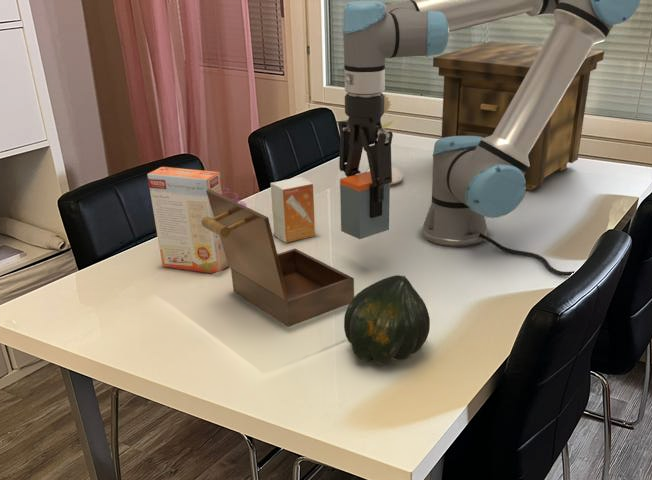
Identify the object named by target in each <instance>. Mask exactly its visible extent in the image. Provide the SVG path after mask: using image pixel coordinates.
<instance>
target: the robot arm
mask: <svg viewBox="0 0 652 480" xmlns="http://www.w3.org/2000/svg"><path fill="white" fill-rule="evenodd" d="M640 3H641V0H405V1H400V2H396V3H389V2H383V1H379V0H353V1H349V2H347V3H346V4H345V5H344V8H343V14H342V15H343V16H342V17H343V18H342V19H343V20H342V36H343V61H344V63H343V65H344V69H343V70H344V91H345V92H346V94H345V95H344V114H345V115H346V116H348V118H347V119H345V120H340V121H338V122H337V125H338V131H339V157H338V158H339V161H338V163H339V166H338V169H339V171H340V172H344V175H345V176H346V177H349V176H353V175H357V174H361V170H359V169H360V164H361V160H362V155H363V150H364V151H365V152H366V157H367V162H368V167H369V168H368V169H370V173H371V178H372V184H370V218H375V217H378V216H381V215H382V201H383V200H384V185H385V184H389V183H391V182H392V164H393V163H392V141H393V137H394V134H393V132H392V131H391V130H389V131H386V130H385V129H382V126H383V124H382V121H381V119H382V117H383V115H384V114H385V112H384V105H385V96H384V95H383V94H384V92H385V90H386V75H385V74H386V70H385V69H386V59H393V58H408V57H426V58H428V57H429V56H430V57H431V56H436V55H437V56H439V55H442V53H444V52H445V50H446V48H447V46H448V43H449V37H450V33H451V32H455V31H460V30H464V29H467V28H472V27H476V26H480V25H484V24H486V23H491V22H496V21H499V20H503V19H507V18H511V17H514V16H519V15H523V14H526V15H528V17H537V16H540V15H551V14H552V15H553V18H554V25H553V27H552V29H551V31H550V33H549V34H548V36H547V38H546V40H545V41H544V42H543V45H542V46H543V47H542V48H541V50H540V52H539V54H538V55H537V57H536V59H535V61H534V62H533V64H532V66H531V68H530V69H529V71H528V73H527V75H526V76H525V78H524V80H523V82H522V83H521V85H520V87H519V89H518V90H517V92H516V94H515V96H514V97H513V99H512V101H511V103H510V105H509V106H508V108H507V110H506V112H505V113H504V115H503V117H502V119H501V120H500V122H499V124H498V126H497V127H496V129H495V131H494V133H493V134H492V135H491V136H488V137H485V138H483V137H479V136H451V137H445V138H441V137H440V138H439V139H437V140H436V141H435V142H434V145H433V151H432V176H431V177H432V181H431V203H430V206H429V208H428V210H427V211H428V212H427V214H426V217H425V219H424V222H423V225H422V237H423V238H424V239H425V240H426V241H428V242H430V243H433V244H435V245H439V246H444V247H452V248H453V247H454V248H455V247H457V248H460V247H461V248H462V247H470V246H475V245H478V244H481V243H483V242H484V241H486V242H487V243H489V244H492V245H493V246H494V247H496V248H498V249H499V250H501V251H503V252H505V253H510V254H513V255H519V256H524V257H525V256H526V257H531V258H535V259H537V260H539V261H541V262H542V264H543V265H544V266H545V267H546V269H547V270H548V271H550V273H552V274H555V275H558V276H563V277H571V276H570V275H571V274H572V273H574V272H575V271H576V270H572V271H563V270H562V271H561V270H558V269H556V268H555V267H553V266H552V265H551V263H549V261H548V260H547V259H546V258H545V257H543V256H542V255H540V254H537V253H534V252H530V251H525V250H519V249H512V248H509V247H507V246H504V245H502V244H500V243H499V242H498V241H495V240H494V239H492V238H491V237H489V236H488V225H487V222H486V218H490V219H497V218H500V217H504V216H507V215H509V214H510V213H512V212H513V211H514V210H516V208H518V206H519V205H520V204H521V202H522V201H523V199H524V197H525V194H526V191H527V190H526V186H525V183H526V181H525V177H524V175H525V173H526V172H527V170H528V168H529V166H530V164H529V159H528V154H529V152H530V151H531V149H532V147H533V146H534V144H535V142H536V141H537V139H538V137H539V136H540V134H541V132H542V130H543V129H544V127H545V125H546V124H547V122H548V120H549V119H550V117H551V115H552V113H553V112H554V110H555V108H556V107H557V105H558V103H559V102H560V100H561V98H562V97H563V95H564V93H565V91H566V90H567V88H568V86H569V85H570V83H571V81H572V80H573V78H574V76H575V75H576V73H577V71H578V69H579V68H580V66H581V64H582V63H583V61H584V59H585V58H586V56H587V54H588V52H589V51H590V50H592V47H593V46H594V45H595V44H599V43H602V42H605V41H606V39H607V37H608V35H609V34H610V32H611V31H612V29H613V27H614V26H617V25H621V24H622V23H624V22H627V21H628V20H630V19H631V17H632V16H633V15H634V14H635V13H636V11H637V9H638V8H639V5H640Z"/></svg>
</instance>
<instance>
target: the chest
mask: <svg viewBox="0 0 652 480" xmlns="http://www.w3.org/2000/svg"><path fill="white" fill-rule="evenodd" d="M277 255H278V259H279V263H280V267H281V271H282V275H283V279H284V283H285V287H286V291H287V295H288V299H287V300H286V301H285V300H283V299H281V298H280V297H278V296H276V295H275V294H273V293H271V292H270V291H268V290H266V289H265V288H263V287H261V286H260V285H258V284H256V283H255V282H253V281H251V280H250V279H248V278H246V277H245V276H243V275H241V274H240V273H238V272H236V271H235V270H233V269H231V268H230V272H231V282H232V290H233V293H235V294H237V295H238V296H240V297H241V298H243V299H244V300H246V301H247V302H249V303H251V304H252V305H254V306H255V307H257V308H259V309H260V310H262V311H263V312H265V313H267V314H268V315H270V316H271V317H273V318H274V319H275V320H277V321H279V322H280V323H282V324H283V325H285V326H286V327H292V326H294V325H297V324H300V323H303V322H306V321H308V320H310V319H313V318H316V317H318V316H321V315H323V314H326V313H329V312H332V311H334V310H336V309H339V308H341V307H345V306H347V305H349V304H350V303H351V302H352V300H353V299H354V297H355V278H354V277H352V276H351V275H348V274H346V273H344V272H343V271H342V270H341V271H340V270H339V269H337V268H335V267H333V266H331V265H329V264H328V263H325V262H323V261H321V260H319V259H317V258H315V257H313V256H311V255H309V254H308V253H305V252H304V251H301V250H300V249H298V248H292V249H288V250H285V251H282V252H279V253H277Z"/></svg>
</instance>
